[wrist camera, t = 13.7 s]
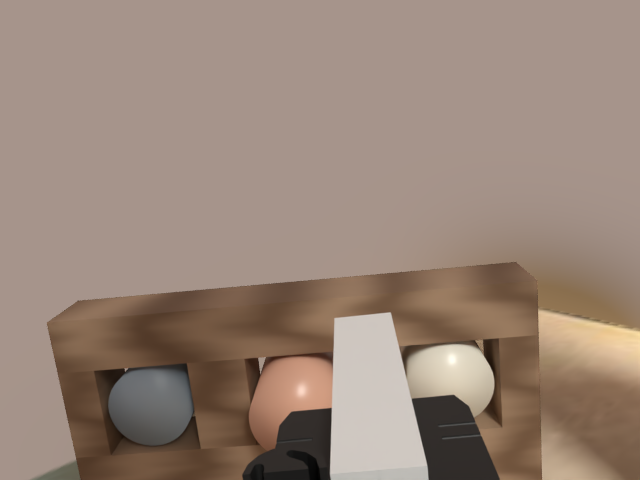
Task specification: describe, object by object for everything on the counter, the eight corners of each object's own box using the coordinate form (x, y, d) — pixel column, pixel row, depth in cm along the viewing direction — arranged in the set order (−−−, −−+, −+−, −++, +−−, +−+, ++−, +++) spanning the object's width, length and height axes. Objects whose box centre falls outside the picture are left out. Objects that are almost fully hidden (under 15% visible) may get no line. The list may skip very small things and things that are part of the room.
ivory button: (464, 357, 42) (460, 293, 41) (496, 421, 33) (492, 342, 32) (396, 362, 43) (391, 299, 42) (410, 427, 34) (404, 349, 33)
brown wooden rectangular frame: (516, 475, 40) (508, 256, 37) (551, 550, 33) (546, 288, 30) (129, 501, 42) (88, 293, 38) (87, 576, 35) (32, 332, 32)
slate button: (226, 376, 43) (216, 314, 42) (196, 442, 35) (183, 366, 34) (161, 381, 44) (151, 320, 43) (116, 448, 35) (101, 373, 34)
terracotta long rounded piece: (343, 382, 40) (336, 315, 39) (343, 456, 32) (334, 373, 31) (274, 387, 41) (265, 321, 40) (254, 462, 32) (243, 380, 31)
